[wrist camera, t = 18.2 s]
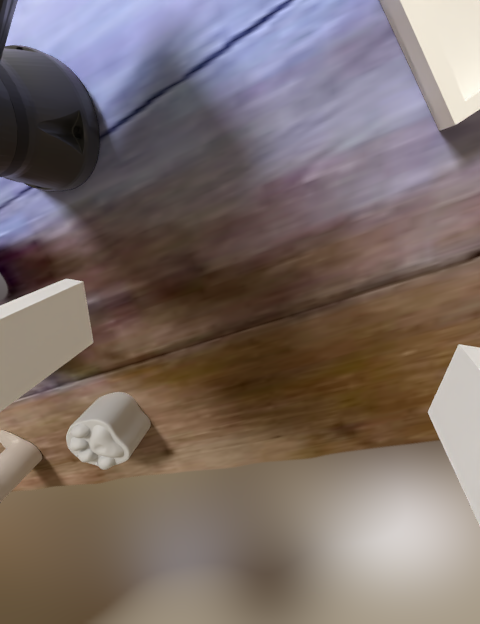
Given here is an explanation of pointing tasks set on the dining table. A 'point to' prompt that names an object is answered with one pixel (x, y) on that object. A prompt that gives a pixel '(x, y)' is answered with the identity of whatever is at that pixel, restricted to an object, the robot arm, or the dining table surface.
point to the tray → (441, 53)
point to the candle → (15, 461)
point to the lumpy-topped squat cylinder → (108, 430)
